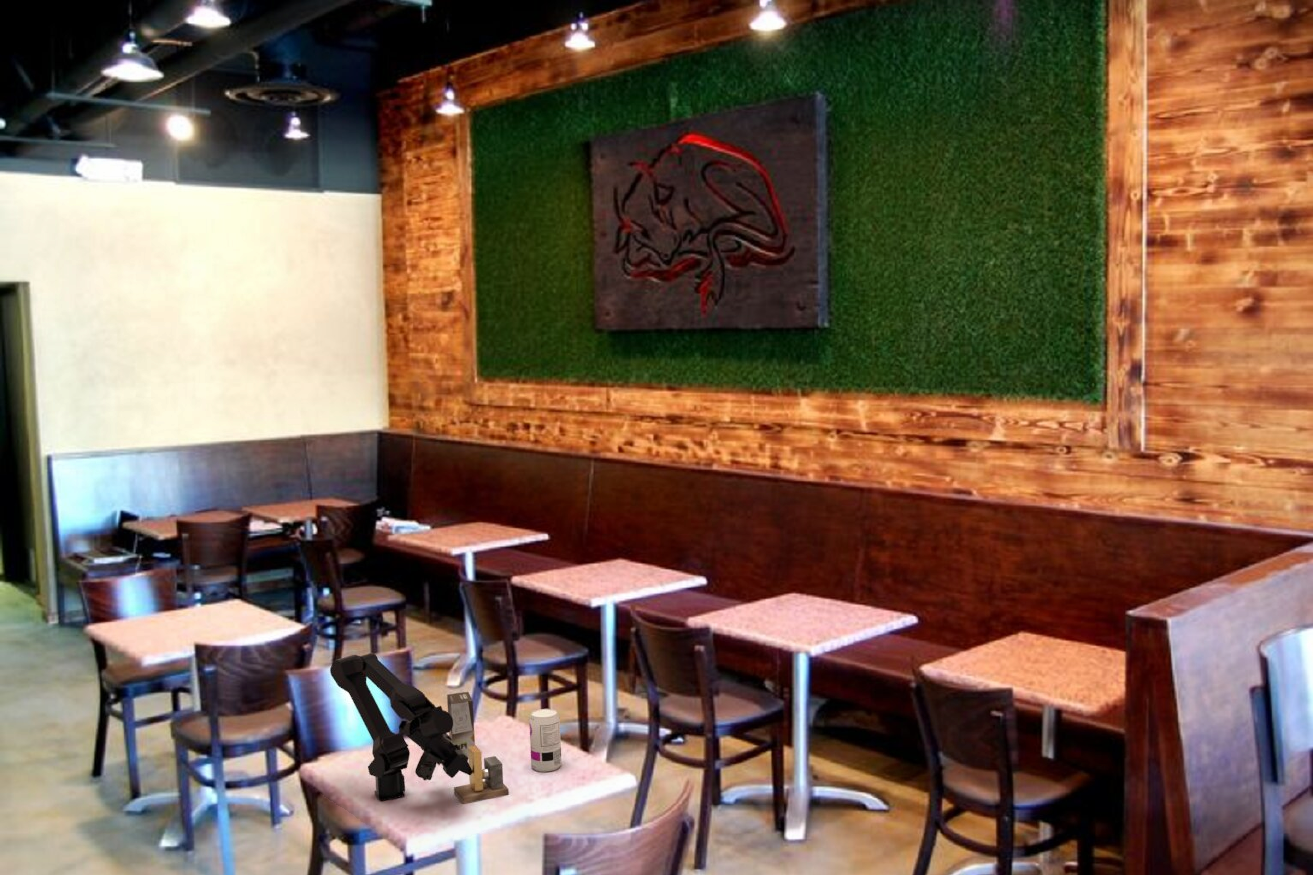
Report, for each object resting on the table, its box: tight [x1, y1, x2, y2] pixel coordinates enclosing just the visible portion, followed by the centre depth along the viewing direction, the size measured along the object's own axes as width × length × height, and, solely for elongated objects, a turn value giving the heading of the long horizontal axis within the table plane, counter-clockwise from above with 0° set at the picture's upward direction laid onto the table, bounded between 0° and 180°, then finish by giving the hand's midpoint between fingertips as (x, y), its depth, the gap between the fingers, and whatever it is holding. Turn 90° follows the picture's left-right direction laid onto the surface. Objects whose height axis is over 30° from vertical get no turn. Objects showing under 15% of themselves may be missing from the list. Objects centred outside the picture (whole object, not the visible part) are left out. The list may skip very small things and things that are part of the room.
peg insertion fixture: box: [453, 755, 510, 804], centre depth 305 cm, size 12×8×8 cm, turn 115°
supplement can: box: [528, 708, 562, 773], centre depth 322 cm, size 8×8×15 cm
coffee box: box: [446, 691, 476, 757], centre depth 334 cm, size 9×6×16 cm
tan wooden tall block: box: [468, 744, 490, 792], centre depth 305 cm, size 6×5×10 cm
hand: (471, 773), depth 303 cm, fingers closed
